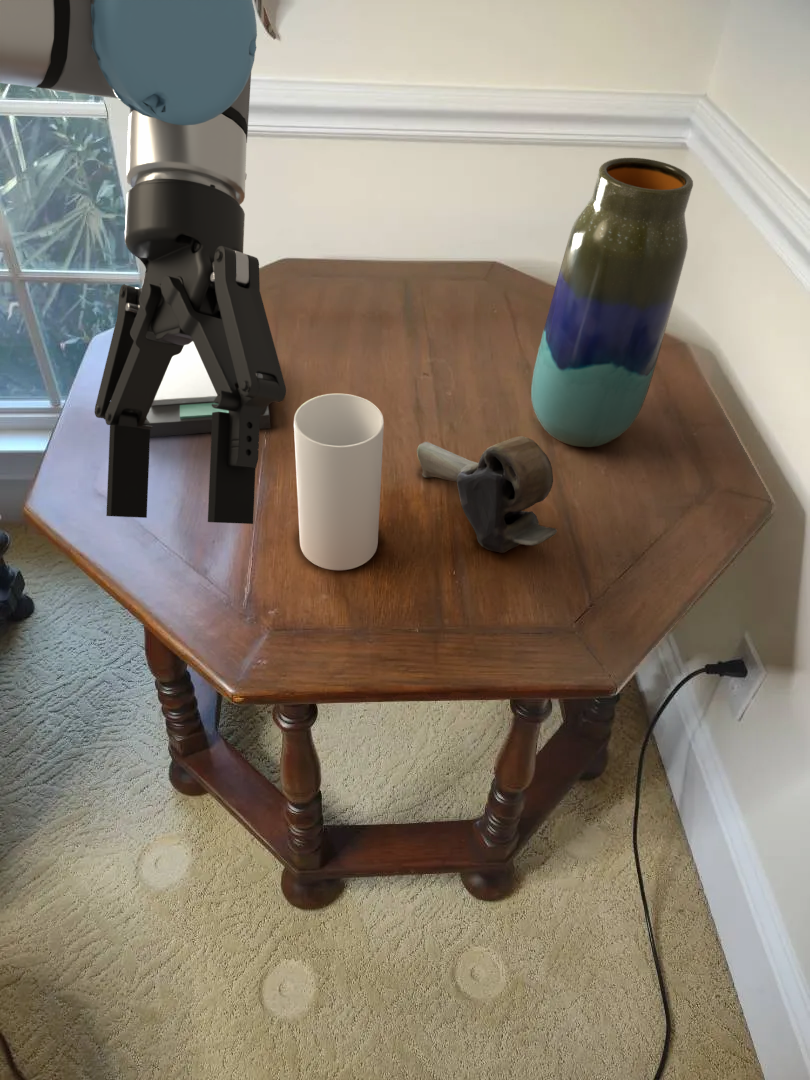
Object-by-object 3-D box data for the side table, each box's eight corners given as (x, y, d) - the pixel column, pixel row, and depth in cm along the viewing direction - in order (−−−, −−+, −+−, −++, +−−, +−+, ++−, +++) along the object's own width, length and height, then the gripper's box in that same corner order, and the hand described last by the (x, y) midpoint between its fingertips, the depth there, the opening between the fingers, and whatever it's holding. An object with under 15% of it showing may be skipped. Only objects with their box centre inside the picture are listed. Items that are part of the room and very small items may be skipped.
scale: (143, 437, 91) (139, 418, 89) (147, 359, 103) (143, 341, 101) (270, 428, 94) (269, 409, 92) (260, 353, 106) (259, 335, 104)
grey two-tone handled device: (402, 471, 90) (407, 388, 82) (442, 454, 93) (450, 371, 84) (519, 582, 79) (538, 498, 70) (560, 559, 81) (583, 475, 73)
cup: (393, 542, 82) (402, 420, 70) (337, 583, 77) (337, 459, 66) (340, 504, 85) (340, 382, 74) (283, 540, 81) (274, 417, 69)
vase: (539, 464, 92) (603, 201, 70) (511, 397, 102) (559, 147, 80) (647, 459, 94) (742, 201, 72) (610, 394, 104) (683, 149, 82)
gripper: (355, 164, 45) (339, 528, 45) (149, 254, 62) (138, 516, 62) (246, 109, 39) (229, 524, 40) (54, 225, 57) (43, 512, 57)
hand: (173, 520), depth 51 cm, fingers open, 13 cm apart
